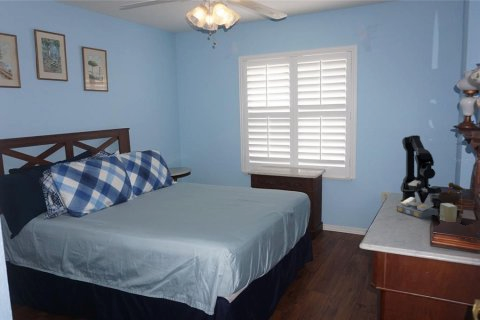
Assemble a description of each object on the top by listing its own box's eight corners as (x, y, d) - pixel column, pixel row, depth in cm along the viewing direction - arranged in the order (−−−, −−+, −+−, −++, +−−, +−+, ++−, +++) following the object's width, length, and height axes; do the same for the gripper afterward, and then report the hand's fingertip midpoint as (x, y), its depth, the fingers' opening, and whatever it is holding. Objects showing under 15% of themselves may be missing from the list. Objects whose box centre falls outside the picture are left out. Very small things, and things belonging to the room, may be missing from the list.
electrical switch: (450, 210, 200) (450, 194, 198) (449, 213, 196) (450, 197, 194) (431, 208, 205) (431, 192, 204) (430, 211, 201) (430, 195, 199)
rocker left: (401, 205, 201) (400, 202, 201) (411, 199, 204) (410, 196, 203) (406, 206, 198) (405, 203, 198) (416, 200, 201) (415, 197, 200)
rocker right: (417, 209, 191) (416, 206, 191) (428, 204, 194) (427, 201, 193) (422, 211, 188) (422, 208, 187) (433, 205, 191) (433, 202, 190)
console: (396, 210, 201) (396, 203, 201) (412, 208, 206) (412, 201, 205) (420, 218, 187) (420, 210, 186) (437, 215, 191) (437, 207, 191)
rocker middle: (408, 204, 196) (409, 201, 196) (419, 205, 199) (419, 201, 199) (413, 205, 193) (414, 202, 192) (424, 206, 196) (425, 203, 196)
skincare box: (438, 228, 170) (439, 203, 169) (447, 227, 171) (448, 202, 169) (447, 232, 164) (448, 206, 162) (456, 232, 164) (457, 206, 163)
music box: (464, 219, 182) (467, 181, 178) (465, 227, 173) (468, 187, 169) (430, 216, 190) (432, 179, 186) (429, 223, 180) (431, 185, 176)
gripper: (398, 174, 201) (398, 201, 203) (426, 179, 184) (426, 209, 186) (412, 172, 205) (412, 198, 207) (442, 176, 188) (442, 205, 190)
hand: (422, 203), depth 197 cm, fingers closed, pressing on rocker middle
